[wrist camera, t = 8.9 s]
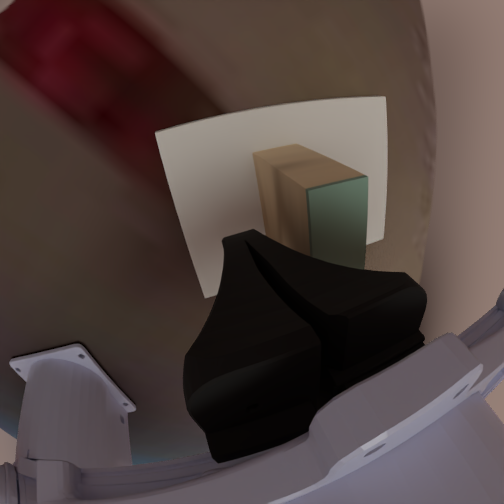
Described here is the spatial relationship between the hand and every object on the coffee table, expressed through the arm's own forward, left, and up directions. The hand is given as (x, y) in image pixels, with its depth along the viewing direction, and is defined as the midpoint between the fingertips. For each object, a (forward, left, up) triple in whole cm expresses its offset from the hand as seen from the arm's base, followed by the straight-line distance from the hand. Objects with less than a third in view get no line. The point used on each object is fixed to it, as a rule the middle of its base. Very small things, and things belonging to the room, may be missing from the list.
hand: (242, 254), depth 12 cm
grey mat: (0, -4, -5) cm, 6 cm away
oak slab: (0, -3, -4) cm, 5 cm away
